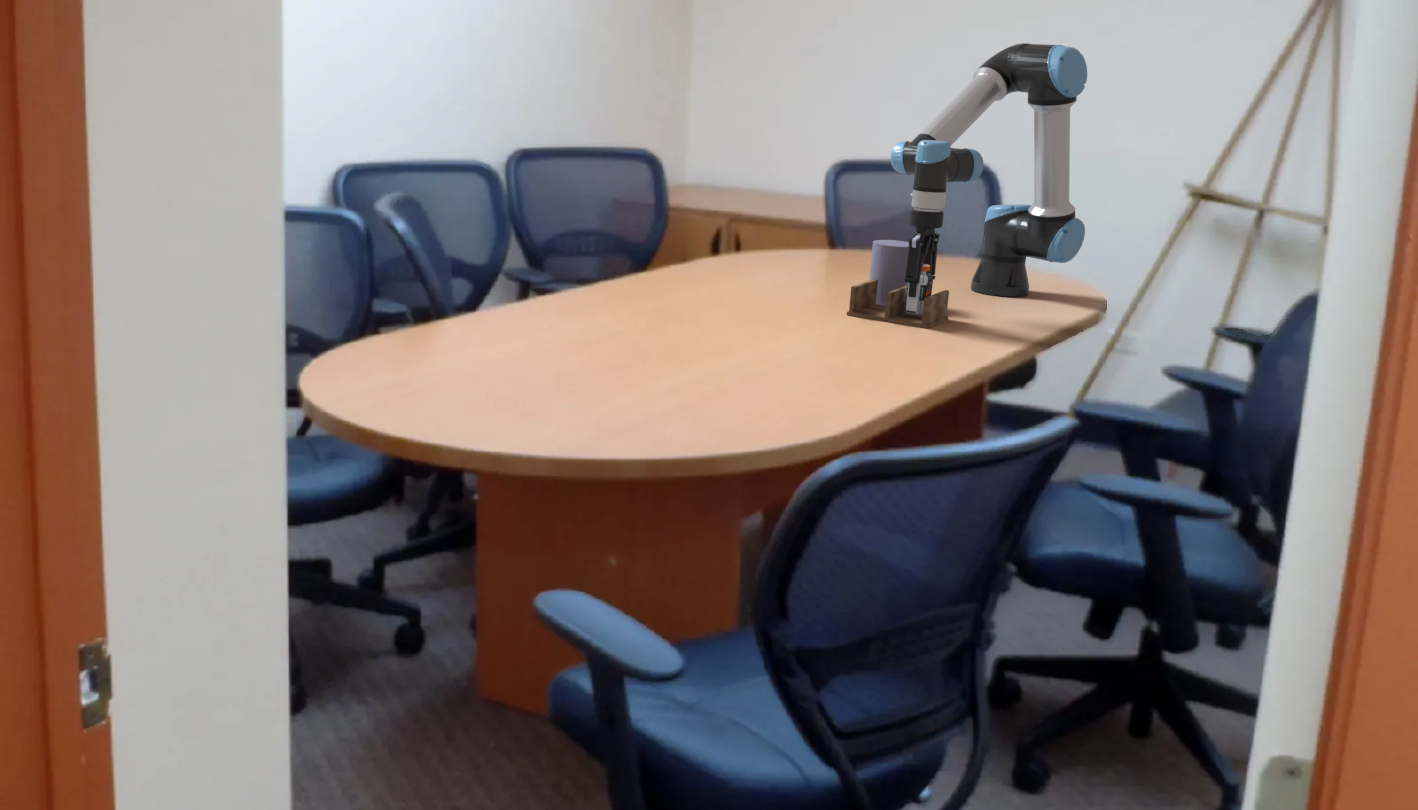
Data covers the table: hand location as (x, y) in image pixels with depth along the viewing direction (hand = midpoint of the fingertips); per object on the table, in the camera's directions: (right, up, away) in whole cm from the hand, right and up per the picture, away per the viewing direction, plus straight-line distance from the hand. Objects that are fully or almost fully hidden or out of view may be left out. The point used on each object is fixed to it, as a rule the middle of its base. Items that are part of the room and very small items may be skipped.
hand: (917, 308), depth 315 cm
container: (-4, +2, +18) cm, 19 cm away
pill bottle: (0, -1, 0) cm, 1 cm away
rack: (-4, -2, +3) cm, 5 cm away
